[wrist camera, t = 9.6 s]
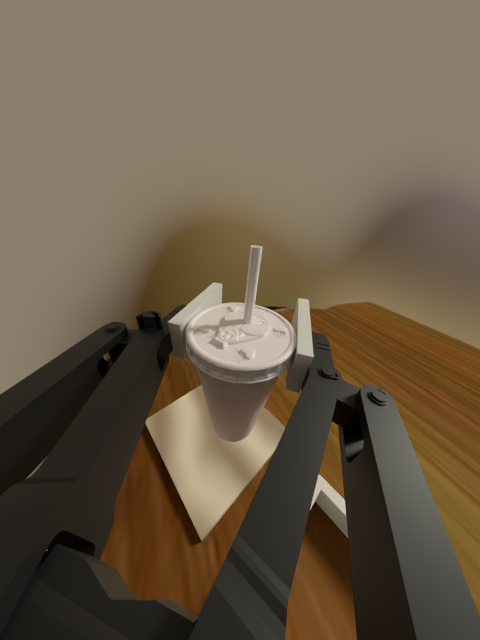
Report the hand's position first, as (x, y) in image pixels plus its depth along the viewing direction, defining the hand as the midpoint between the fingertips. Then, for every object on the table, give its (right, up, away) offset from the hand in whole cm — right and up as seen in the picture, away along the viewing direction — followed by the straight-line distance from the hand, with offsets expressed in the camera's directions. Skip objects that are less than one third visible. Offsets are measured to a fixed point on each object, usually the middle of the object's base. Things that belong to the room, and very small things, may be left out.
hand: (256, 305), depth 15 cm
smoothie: (-2, -10, +1) cm, 10 cm away
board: (-5, -16, +10) cm, 20 cm away
